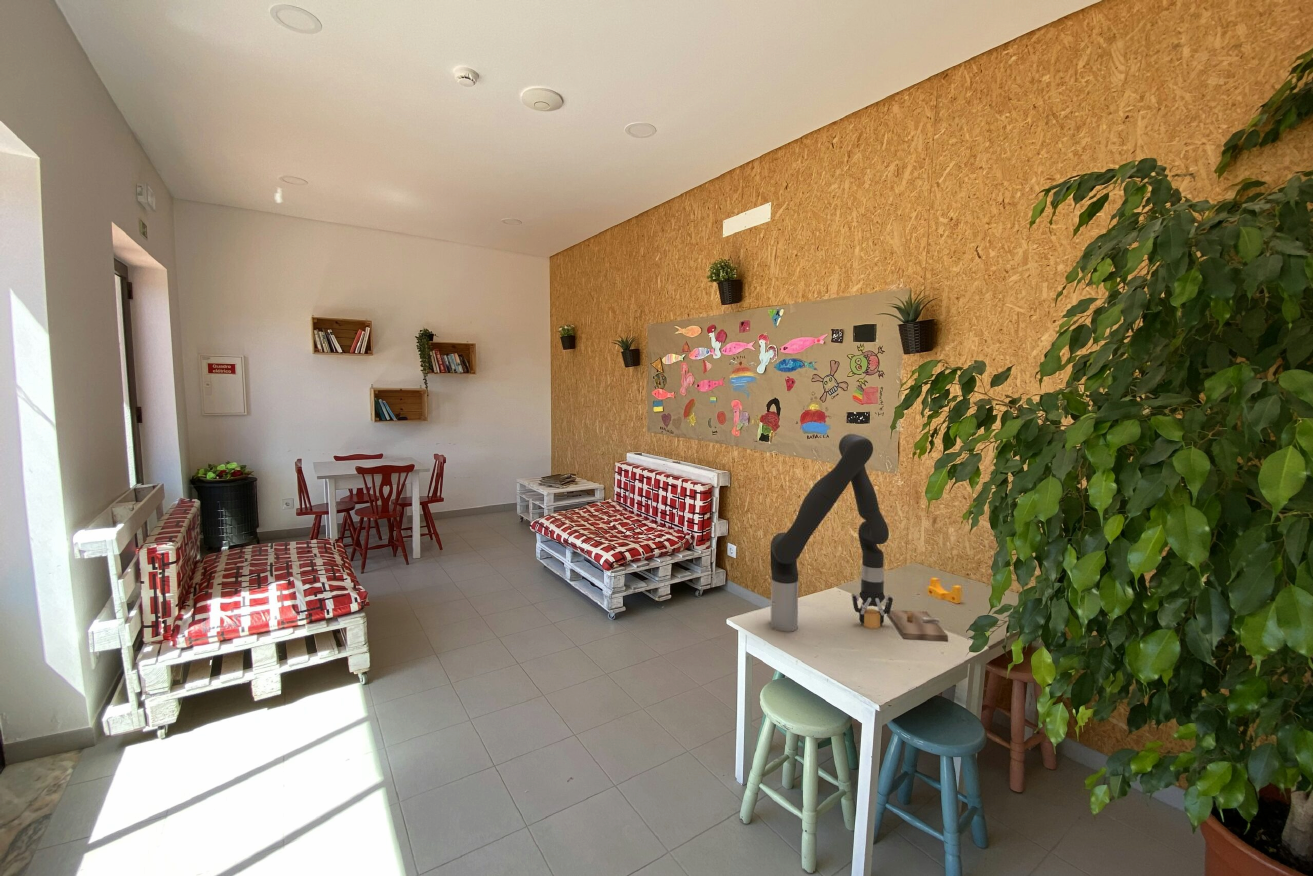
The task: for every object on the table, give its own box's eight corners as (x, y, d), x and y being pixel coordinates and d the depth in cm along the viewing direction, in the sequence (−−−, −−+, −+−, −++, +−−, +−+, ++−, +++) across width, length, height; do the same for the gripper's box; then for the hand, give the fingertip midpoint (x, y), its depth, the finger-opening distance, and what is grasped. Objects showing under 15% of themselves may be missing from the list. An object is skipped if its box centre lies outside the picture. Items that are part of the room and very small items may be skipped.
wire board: (903, 638, 181) (903, 623, 181) (886, 614, 201) (887, 600, 200) (949, 641, 179) (949, 625, 178) (928, 616, 199) (928, 602, 198)
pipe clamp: (926, 594, 222) (927, 579, 221) (934, 592, 224) (934, 577, 223) (953, 604, 211) (954, 588, 210) (960, 602, 213) (961, 586, 212)
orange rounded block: (865, 627, 190) (865, 614, 189) (861, 621, 195) (861, 608, 195) (881, 628, 189) (881, 614, 188) (877, 622, 194) (877, 608, 194)
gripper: (853, 580, 188) (852, 627, 189) (896, 582, 186) (895, 629, 187) (849, 573, 195) (848, 618, 197) (890, 575, 193) (889, 620, 195)
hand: (871, 623), depth 192 cm, fingers closed on orange rounded block, 5 cm apart
